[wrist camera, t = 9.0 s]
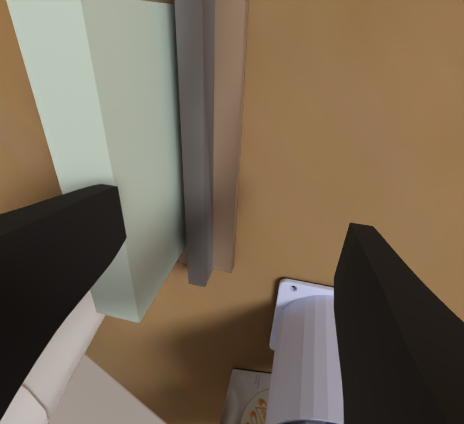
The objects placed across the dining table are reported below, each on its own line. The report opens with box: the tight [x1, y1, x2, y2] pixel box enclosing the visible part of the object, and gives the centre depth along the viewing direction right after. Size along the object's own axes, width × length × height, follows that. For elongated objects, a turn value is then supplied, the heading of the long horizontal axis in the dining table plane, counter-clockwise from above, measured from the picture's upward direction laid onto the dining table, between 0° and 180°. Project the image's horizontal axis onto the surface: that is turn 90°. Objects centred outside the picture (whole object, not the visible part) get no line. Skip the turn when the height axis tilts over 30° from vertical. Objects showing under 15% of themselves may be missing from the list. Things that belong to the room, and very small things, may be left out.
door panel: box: [6, 0, 187, 323], centre depth 15 cm, size 2×14×7 cm, turn 178°
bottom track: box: [142, 0, 249, 287], centre depth 18 cm, size 9×18×3 cm, turn 178°
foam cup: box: [0, 290, 105, 424], centre depth 22 cm, size 10×9×13 cm
